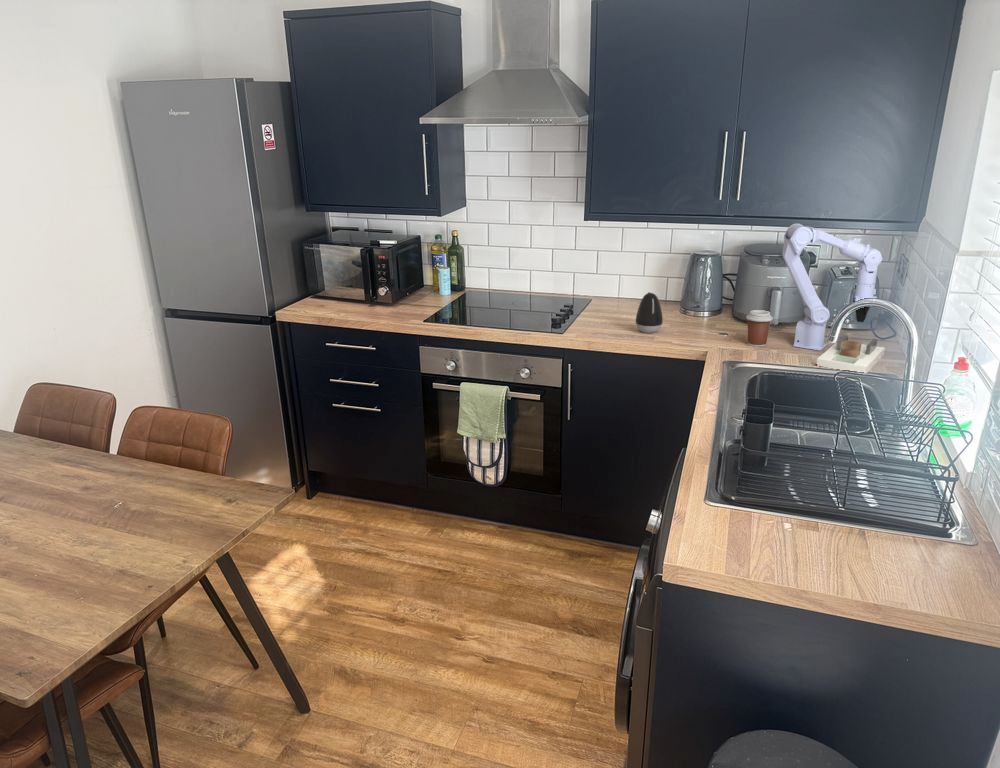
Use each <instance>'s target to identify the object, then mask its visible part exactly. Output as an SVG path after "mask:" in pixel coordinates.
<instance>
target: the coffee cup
mask: <svg viewBox="0 0 1000 768" xmlns="http://www.w3.org/2000/svg"><path fill="white" fill-rule="evenodd" d="M745 319H747V345H748V346H750V347H756V348H763V347H766V346H767V343H768V337H769V332H770V328H771V326H770V322H771V321H772V320H773V321H774V316H773V317H772V316H771V315H770V312H769V311H765V310H752V309H751V310H750V311H749V313H748V314H746V316H745Z"/></svg>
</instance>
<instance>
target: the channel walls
mask: <svg viewBox="0 0 1000 768" xmlns="http://www.w3.org/2000/svg"><path fill="white" fill-rule="evenodd" d="M849 337H850V336H849V335H848V334H844V335H843V336H842V337H841V338H840V339H838V340H837V341H836V342H837V347H836V350H841V345H842V343H843V342H844V341H845V340H847V341H849ZM866 345H867V347H866V353H865V354H866V355H870V354H871V353H872V352H873V351H874V350H875V349H876V346H877V345H878V338H873V339H872V340H871V341H870V342H869V343H868V344H866ZM877 347H878V346H877Z"/></svg>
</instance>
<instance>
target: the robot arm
mask: <svg viewBox="0 0 1000 768" xmlns="http://www.w3.org/2000/svg"><path fill="white" fill-rule="evenodd" d="M783 239H784V241H783V247H782V253H781V255H782V258H783V261H784V263H785V265H786V267H787V269H788V271H789V273H790V275H791V278H792V280H793V282H794V284H795V286H796V289H797V291H798V293H799V296H800V297H801V299H802V304H803V313H804V316H805V318H804V320H799V321H797V323H796V327H795V333H794V342H793V347H795V348H802V349H808V350H815V351H819V352H820V351H822V350H823V349H825V348H826V347H827V345H828V344H827V343H825V335H826V329H827V322H828V321H829V319H830V316H831V314H830V310H829V309H828V307H826V306H824V304H823V302H822V300H821V299H820V298H819V295H818V294H817V292H816V290H815V287H814V286H813V284H812V283H813V282H812V281H811V279H810V277H809V275H808V272H807V270H806V268H805V266H804V263H803V262H802V259H801V257H800V256H801V253H802V252H803V250H804V249H805V248H806V246H808V245H809V244H810V243H812V244H814V243H817V242H820V243H823V244H826V245H827V246H831V247H833V248H836V249H838V251H839V254H840V255H842V256H845V257H847V258H850V259H852V260H854V261H856V262H859V267H858V268H859V269H858V271H857V272H858V273H857V274H858V275H857V281H856V287H855V294H854V296H853V297H854V299H855V300H853V302H855V301H858V300H860V299H864V298H877V299H878V296H877V295H874V294H875V288H876V283H877V276H878V275H877V274H878V267H879V265H880V264H881V263H882V261H883V256H882V253H881V252H880V251H879V250H878V249H876V248H874V247H871V245H870V244H868V243H861V242H859V241H858V239H856V238H855V237H852V238H849V237H848V238H846V239H841V238H839V237H837V236H834V235H832V234H830V233H827V232H825V231H823V230H821V229H819V228H815V227H812V226H808V225H802V224H801V223H793V224H791V225H790V226H789V227H788V228H787V229H786V231H785V233H784V235H783ZM870 308H871V307H864V308H860V309H858V310H855V317H856V322H857V323H858V322H860V323H864V322H865V320H866V318H867V315H868V313H869V310H870Z"/></svg>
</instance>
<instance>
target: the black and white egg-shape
mask: <svg viewBox="0 0 1000 768" xmlns="http://www.w3.org/2000/svg"><path fill="white" fill-rule="evenodd" d="M663 320H664V319H663V312H662V307H661V301H660V300H659V298H658V296H657V294H655V293H653V292H647V293H645V294H644V295H643V297H642V298H641V300H640V302H639V305H638V308H637V312H636V316H635V323H636V328H637V329H638V331H640V332H641V333H643V332H644V334H655V333H657V332H658V331H659V330H660V329H661V327H662V325H663V323H664V322H663Z"/></svg>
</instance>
